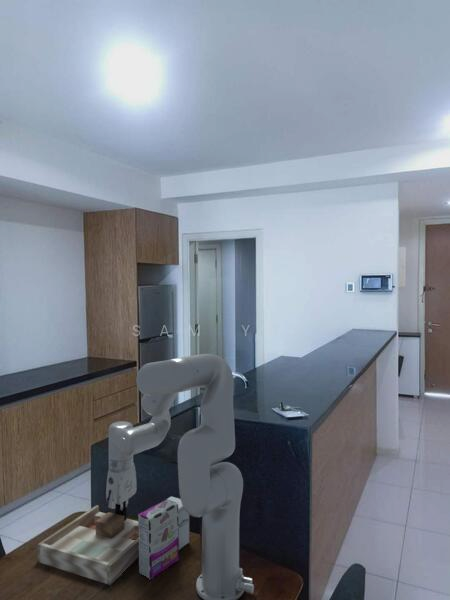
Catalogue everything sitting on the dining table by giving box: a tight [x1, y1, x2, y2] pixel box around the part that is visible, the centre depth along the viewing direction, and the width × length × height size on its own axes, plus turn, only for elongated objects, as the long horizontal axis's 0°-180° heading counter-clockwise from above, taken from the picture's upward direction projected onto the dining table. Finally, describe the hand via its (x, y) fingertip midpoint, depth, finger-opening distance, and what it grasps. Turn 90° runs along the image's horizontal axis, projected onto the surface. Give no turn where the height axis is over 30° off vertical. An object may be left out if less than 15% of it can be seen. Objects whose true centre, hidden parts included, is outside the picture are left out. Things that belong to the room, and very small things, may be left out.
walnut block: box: [96, 512, 124, 539], centre depth 135 cm, size 6×6×4 cm
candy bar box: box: [137, 498, 180, 581], centre depth 123 cm, size 11×5×16 cm, turn 143°
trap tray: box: [37, 504, 139, 586], centre depth 131 cm, size 25×25×5 cm
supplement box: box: [167, 496, 190, 550], centre depth 133 cm, size 7×7×13 cm
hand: (120, 520), depth 140 cm, fingers closed
